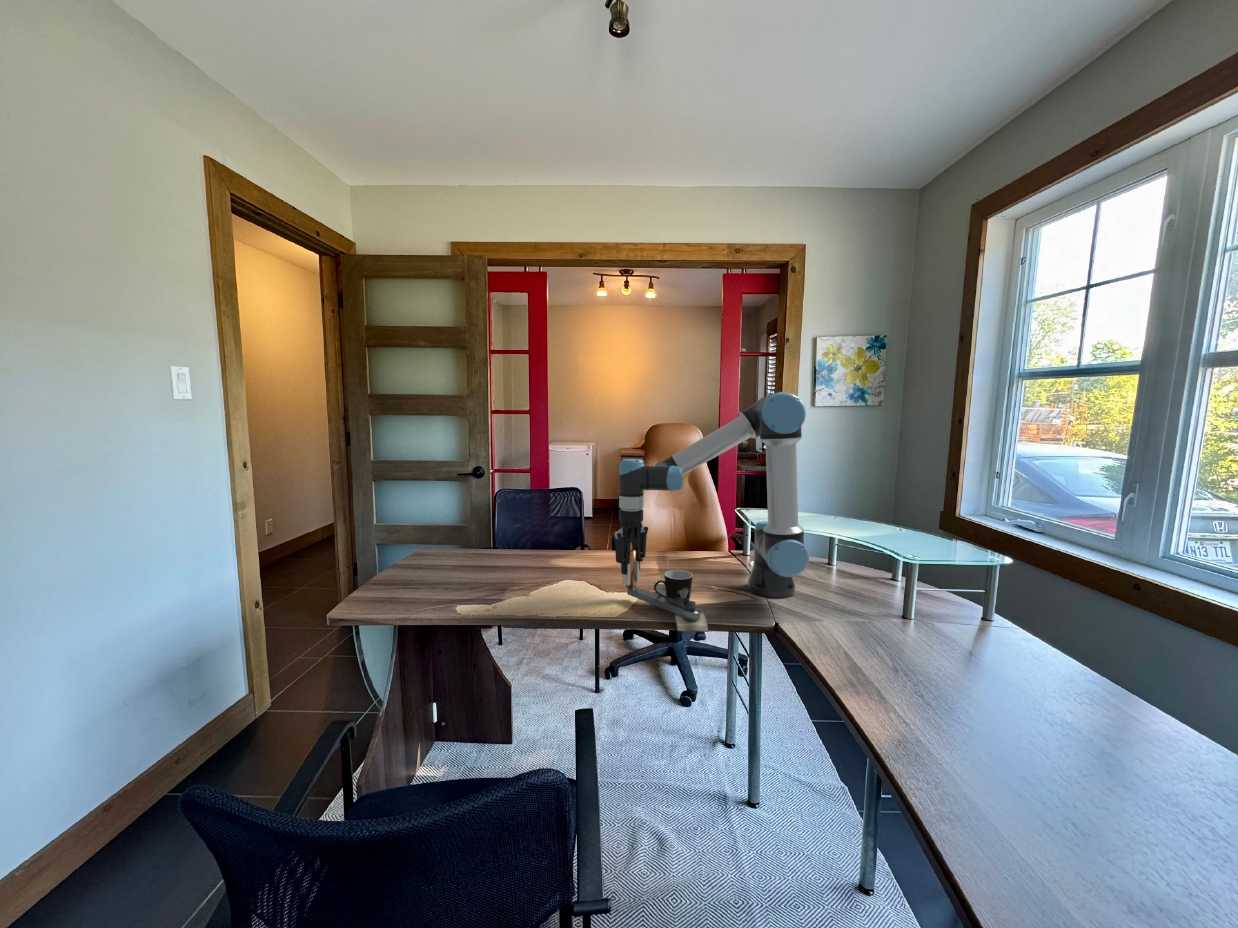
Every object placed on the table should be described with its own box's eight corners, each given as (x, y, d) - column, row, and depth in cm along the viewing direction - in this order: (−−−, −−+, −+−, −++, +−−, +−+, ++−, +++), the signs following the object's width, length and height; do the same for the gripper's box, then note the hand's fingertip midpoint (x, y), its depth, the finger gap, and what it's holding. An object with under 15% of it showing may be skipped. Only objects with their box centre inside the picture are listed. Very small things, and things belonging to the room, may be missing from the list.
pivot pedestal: (703, 618, 133) (703, 597, 133) (707, 631, 125) (708, 608, 125) (675, 618, 134) (675, 596, 133) (677, 630, 126) (678, 607, 125)
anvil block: (685, 593, 153) (686, 581, 152) (686, 596, 150) (686, 584, 150) (655, 592, 153) (655, 581, 153) (655, 595, 150) (655, 583, 150)
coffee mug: (691, 601, 146) (692, 570, 145) (693, 612, 137) (693, 579, 136) (654, 599, 147) (654, 569, 146) (653, 611, 139) (653, 578, 138)
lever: (706, 617, 130) (708, 566, 129) (692, 624, 126) (693, 571, 125) (635, 590, 151) (636, 546, 149) (621, 595, 146) (621, 550, 145)
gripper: (640, 504, 152) (640, 573, 155) (603, 510, 141) (603, 585, 144) (657, 507, 147) (657, 579, 149) (620, 514, 136) (619, 592, 138)
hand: (630, 582), depth 146 cm, fingers closed on lever, 3 cm apart
